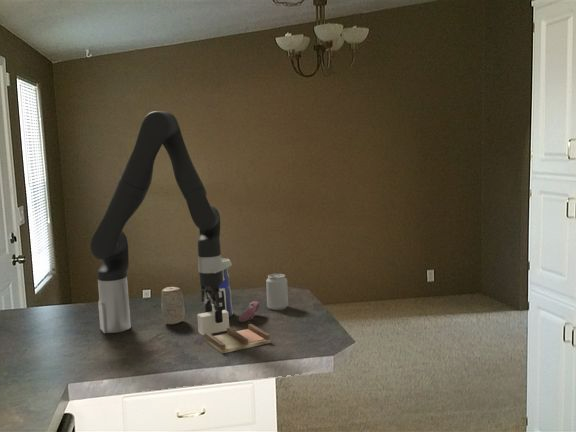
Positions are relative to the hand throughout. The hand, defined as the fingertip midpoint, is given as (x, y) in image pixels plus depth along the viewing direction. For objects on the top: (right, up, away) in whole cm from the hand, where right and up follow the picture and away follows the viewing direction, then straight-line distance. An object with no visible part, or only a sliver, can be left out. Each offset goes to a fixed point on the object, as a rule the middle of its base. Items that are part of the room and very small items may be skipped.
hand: (214, 319), depth 188 cm
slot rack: (+8, -5, -11) cm, 14 cm away
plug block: (0, -4, +1) cm, 4 cm away
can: (+20, 0, +24) cm, 31 cm away
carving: (-15, -3, +11) cm, 19 cm away
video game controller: (+11, -2, +13) cm, 17 cm away
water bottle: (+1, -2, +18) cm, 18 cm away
